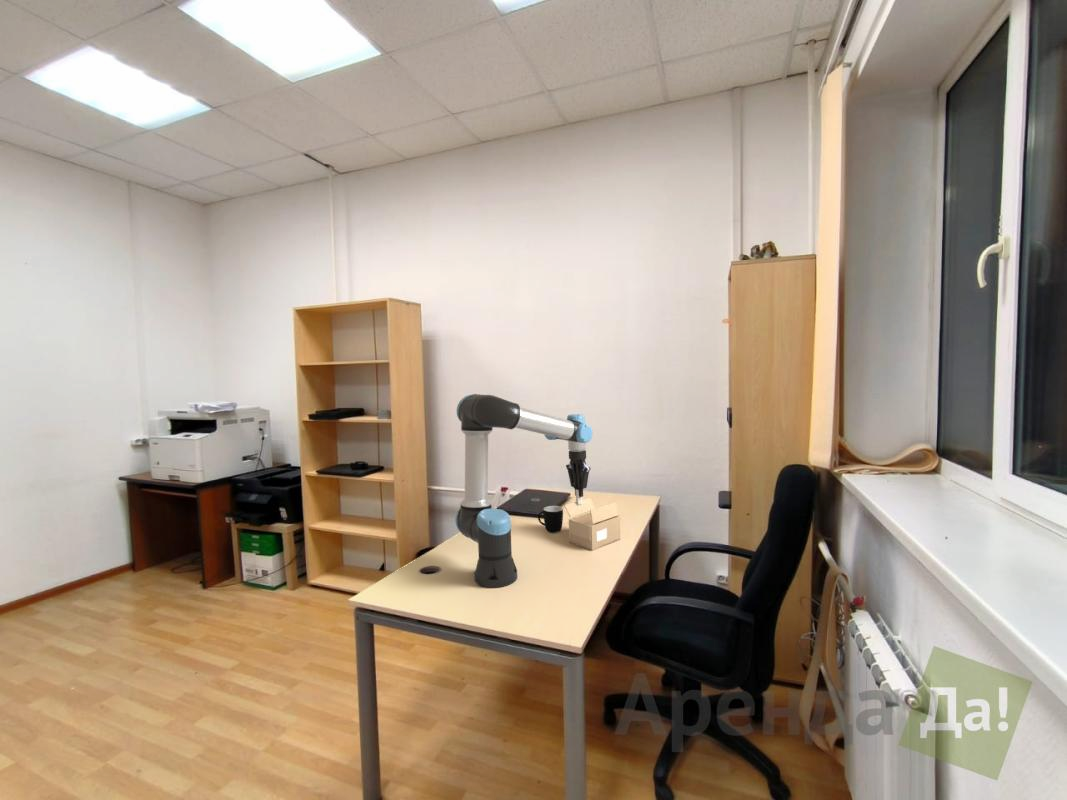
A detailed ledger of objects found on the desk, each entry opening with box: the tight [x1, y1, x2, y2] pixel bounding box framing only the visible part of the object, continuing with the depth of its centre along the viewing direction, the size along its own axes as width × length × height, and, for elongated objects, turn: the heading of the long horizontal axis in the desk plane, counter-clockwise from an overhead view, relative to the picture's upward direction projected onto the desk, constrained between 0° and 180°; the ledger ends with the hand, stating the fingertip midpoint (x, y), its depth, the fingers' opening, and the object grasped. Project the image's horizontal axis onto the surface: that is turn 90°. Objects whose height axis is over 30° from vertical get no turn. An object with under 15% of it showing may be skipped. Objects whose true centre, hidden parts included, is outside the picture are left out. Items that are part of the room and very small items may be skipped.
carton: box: [568, 512, 621, 552], centre depth 197 cm, size 18×13×10 cm
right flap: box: [589, 501, 619, 524], centre depth 192 cm, size 16×6×1 cm
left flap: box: [564, 497, 596, 518], centre depth 202 cm, size 16×6×1 cm
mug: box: [537, 505, 564, 534], centre depth 212 cm, size 12×9×10 cm
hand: (579, 503), depth 203 cm, fingers closed
